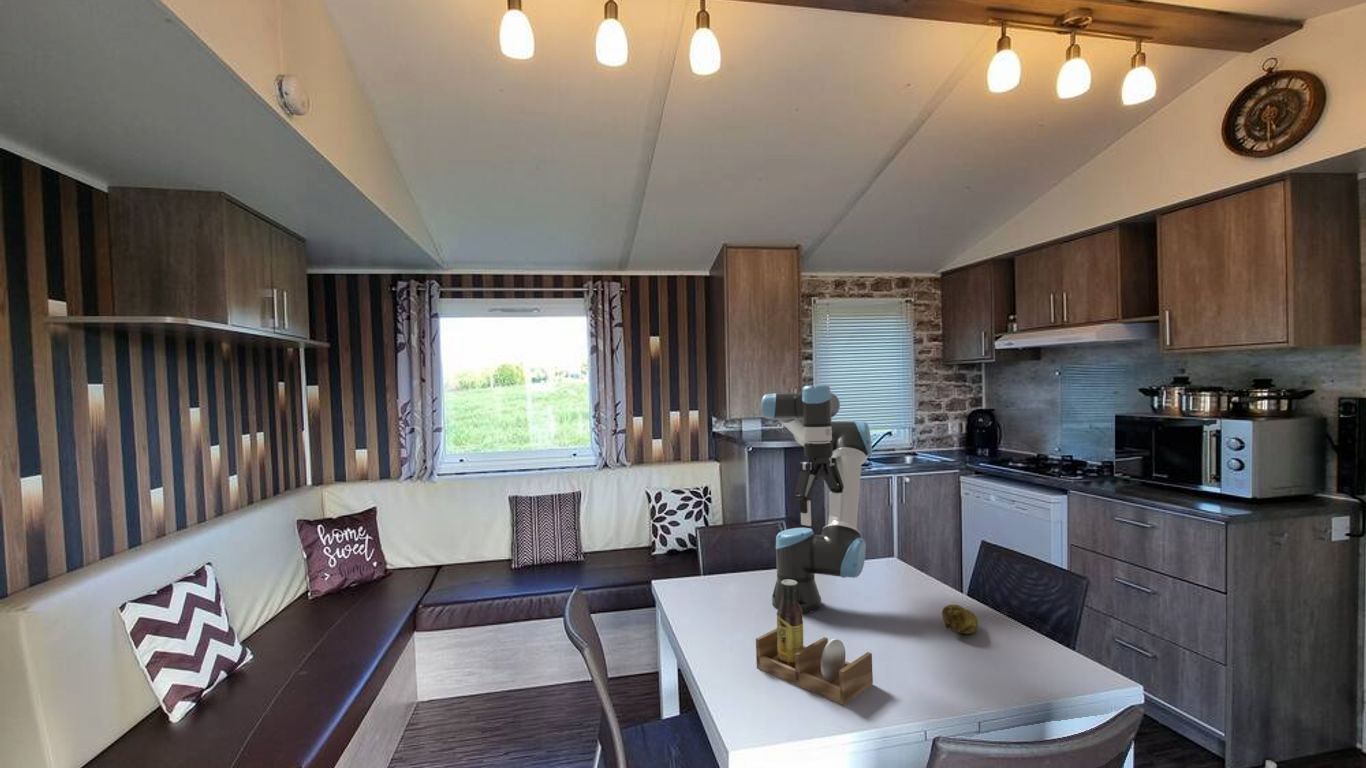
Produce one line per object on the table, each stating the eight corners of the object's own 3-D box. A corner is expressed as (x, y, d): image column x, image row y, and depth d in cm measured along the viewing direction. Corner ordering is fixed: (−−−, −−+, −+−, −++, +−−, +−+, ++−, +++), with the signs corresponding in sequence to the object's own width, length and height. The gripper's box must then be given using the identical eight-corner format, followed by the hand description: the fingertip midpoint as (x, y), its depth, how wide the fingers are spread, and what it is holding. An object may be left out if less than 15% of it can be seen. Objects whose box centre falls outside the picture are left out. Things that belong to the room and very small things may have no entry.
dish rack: (756, 667, 137) (755, 626, 137) (786, 651, 145) (785, 612, 145) (844, 705, 119) (842, 658, 120) (872, 684, 128) (871, 639, 128)
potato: (992, 633, 151) (991, 604, 152) (957, 643, 146) (956, 612, 147) (966, 622, 159) (965, 594, 159) (932, 631, 154) (931, 602, 154)
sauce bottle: (775, 658, 139) (772, 577, 140) (799, 656, 140) (796, 576, 140) (782, 671, 133) (779, 586, 133) (807, 669, 133) (805, 584, 134)
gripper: (802, 446, 141) (805, 531, 141) (854, 439, 158) (857, 514, 158) (778, 445, 147) (781, 526, 147) (831, 438, 164) (833, 511, 164)
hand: (820, 520), depth 152 cm, fingers open, 13 cm apart
